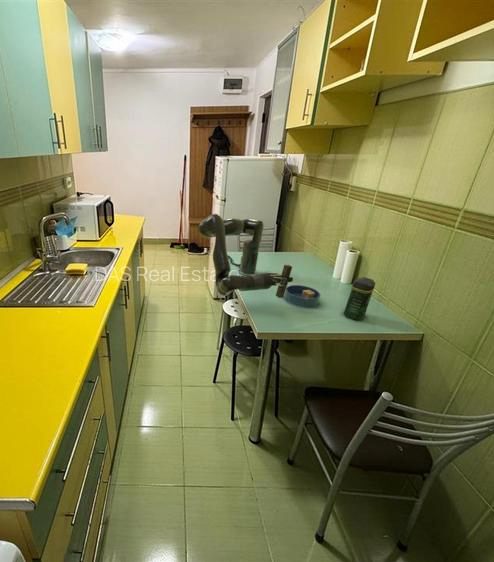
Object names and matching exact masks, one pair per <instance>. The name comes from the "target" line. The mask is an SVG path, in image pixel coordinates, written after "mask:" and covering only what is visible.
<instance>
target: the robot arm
mask: <svg viewBox="0 0 494 562" xmlns="http://www.w3.org/2000/svg"><path fill="white" fill-rule="evenodd" d="M264 228H265V227H264V222H263V221H262V220H259V219H254V218H246V219H245V218H244V219H240V218H234V217H233V218H232V217H231V218H226V219H223V218H222V217H221V216H220V215H219V214H217V213H212V214H210V215H209V216H207V217H206V218H204V219H203V220H202V221H201V222H200V223H199V224H198V232H199V234H200V235H201V236H202V237H204V238H206V239H213V238H215V241H214V247H213V251H212V263H213V264H212V265H213V267H214V271H215V288H216V291H217V292H218V294H219V295H220V296H223V297H225V296H228V295H231V294H232V292H234V291H237V290H238V291H240V292H250V291H251V292H252V291H262V290H269V289H270V288H272V286H275V287H276V286H277V287H278V285H279V286H280V288H283V287H285V286H287V287H288V283H292V282H293V280H294V277H293V276H290V277H288V278H282V277H281V275H282V274H278V273H276V272H261V273H257V266H258V265H257V264H258V258H259V251H260V245H261V243H262V236H263V232H264ZM242 234H245V235H248V236H252V238H251V239H246V240H244V241H243V245H242V253H241V257H240V263H239V264H237V263H235V262H233V258H232V257H231V256H230V255H228V252H227V251H228V250H227V241H226V240H227V239H226V237H236V236H240V235H242ZM229 259H230V260H229ZM230 263H231V264H232V265H234V266H237V267H238V268H239V273H240V274H241V275H239V274H238V275H237V274H230V273H231V270H232V269H231V268H232V267H231V265H230ZM282 280H284V281H282Z"/></svg>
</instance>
